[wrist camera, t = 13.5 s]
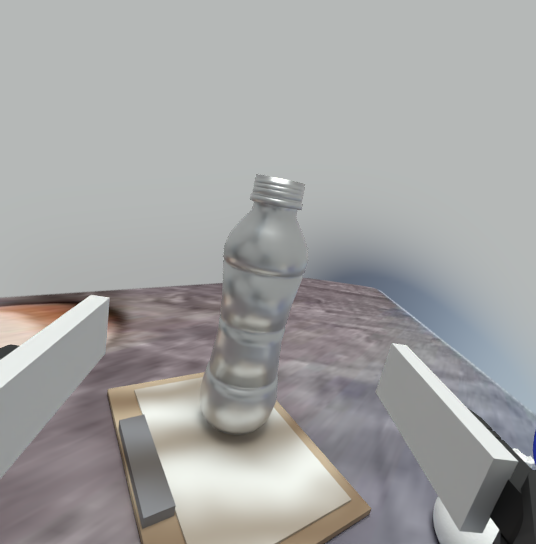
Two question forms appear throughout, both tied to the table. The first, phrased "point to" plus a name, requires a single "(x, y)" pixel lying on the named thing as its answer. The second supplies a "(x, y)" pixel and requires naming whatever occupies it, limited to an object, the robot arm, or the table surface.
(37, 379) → the robot arm
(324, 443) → the table surface
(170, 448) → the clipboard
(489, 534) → the garlic bulb
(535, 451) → the mug
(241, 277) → the plastic bottle
